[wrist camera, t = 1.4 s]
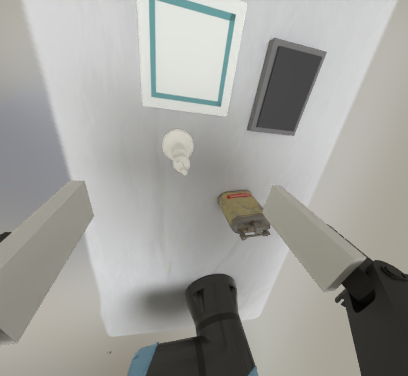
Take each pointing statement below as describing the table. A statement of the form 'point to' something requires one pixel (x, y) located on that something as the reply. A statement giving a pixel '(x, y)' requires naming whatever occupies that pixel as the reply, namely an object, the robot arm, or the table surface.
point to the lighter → (244, 213)
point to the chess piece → (178, 149)
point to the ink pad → (284, 87)
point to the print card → (189, 53)
